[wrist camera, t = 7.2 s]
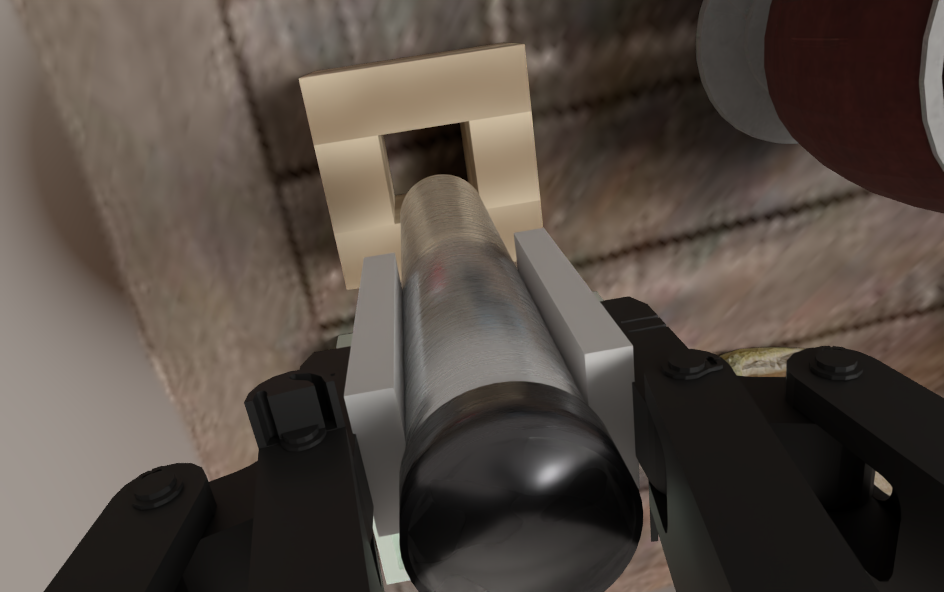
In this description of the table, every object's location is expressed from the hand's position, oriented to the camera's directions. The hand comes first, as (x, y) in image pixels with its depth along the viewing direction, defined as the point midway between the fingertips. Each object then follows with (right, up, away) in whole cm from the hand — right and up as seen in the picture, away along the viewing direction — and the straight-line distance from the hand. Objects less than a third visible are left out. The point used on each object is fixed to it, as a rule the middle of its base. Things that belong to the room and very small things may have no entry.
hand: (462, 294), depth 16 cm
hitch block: (-2, +8, +20) cm, 21 cm away
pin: (-1, +3, +7) cm, 8 cm away
